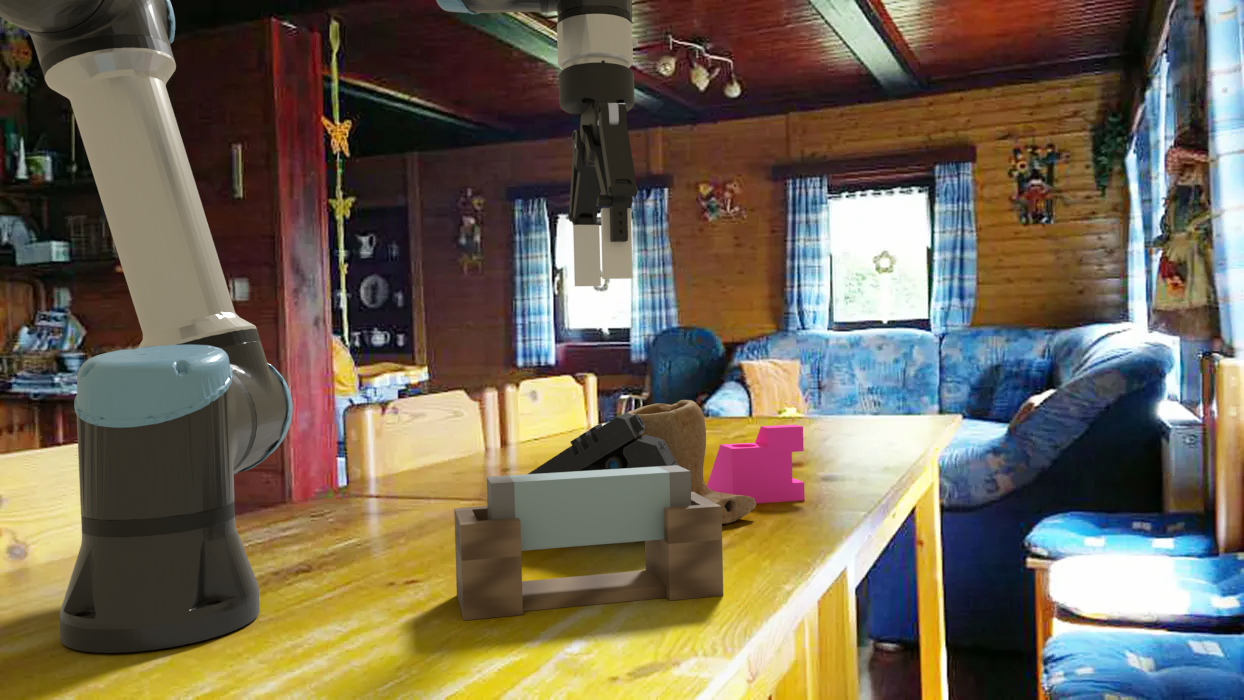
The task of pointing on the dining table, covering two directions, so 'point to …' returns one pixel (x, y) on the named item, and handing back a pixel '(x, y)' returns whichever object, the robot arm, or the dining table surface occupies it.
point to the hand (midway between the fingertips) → (601, 283)
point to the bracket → (760, 466)
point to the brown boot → (690, 450)
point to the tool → (611, 449)
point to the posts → (672, 571)
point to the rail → (589, 504)
